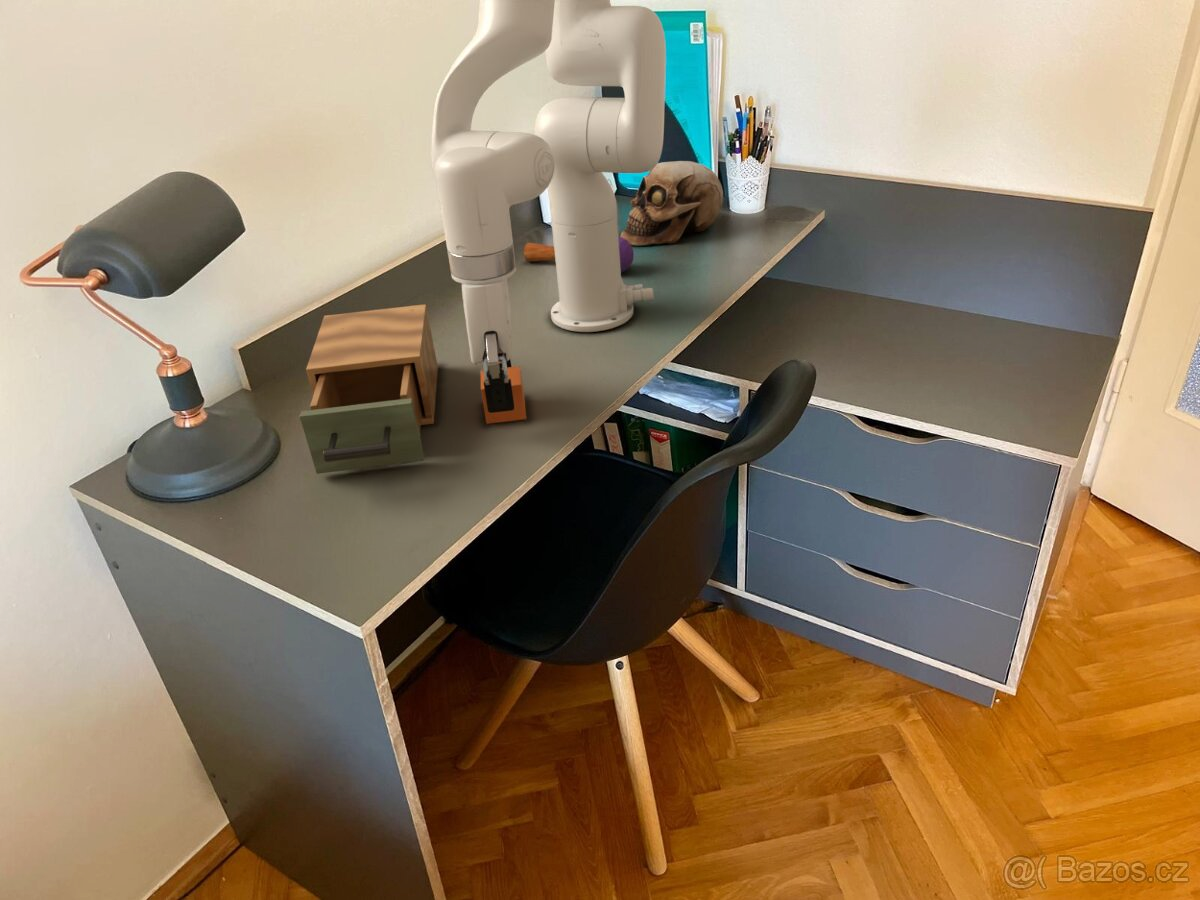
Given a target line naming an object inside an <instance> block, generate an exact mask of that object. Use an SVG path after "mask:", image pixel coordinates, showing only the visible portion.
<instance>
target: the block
mask: <svg viewBox="0 0 1200 900" xmlns="http://www.w3.org/2000/svg"><path fill="white" fill-rule="evenodd" d="M502 370H503V368H502ZM507 370H508V379H511V385H512V393H513V400H514V410H512V411H503V412H494V413H489V412H488V409H487V402H486V395H485V389H484V382H485V377H484V369H482V370H480V392H481V398H482V404H483V411H484V417H485V423H486V424H487V425H489V424H490V425H491V424H497V423H506V422H513V421H521V420H527V412H526V411H527V410H526V400H525V393H524V385H523V379H522V371H521V366H520V365H517V366H511V367H507Z"/></svg>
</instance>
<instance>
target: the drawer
mask: <svg viewBox="0 0 1200 900" xmlns="http://www.w3.org/2000/svg"><path fill="white" fill-rule="evenodd" d="M422 406H423V401H422V397H421V392H420V387H419V382H418V377H417V373H416V368H415V362H414V363H406V364H397V365H389V366H380V367H372V368H363V369H355V370H346V371H338V372H329V373H321V374H320V376H319V379H318V382H317V386H316V389H315V392H314V395H313V394H312V398H311V402H310V406H309V408H310V410H309V409H308V410H302V411H301V412H300V414H299V420H300V423H301V426H302V429H303V432H304V436H305V439H306V442H307V446H308V449H309V453H310V456H311V460H312V463H313V466H314V469H315V473H316V474H318V475H319V474H327V473H334V472H343V471H350V470H358V469H365V468H368V469H369V468H375V467H383V466H390V465H398V464H407V463H416V462H422V461H425V452H424V449H423V448H424V447H423V443H422V439H421V438H422V437H421V426H422V425H421V416H422Z"/></svg>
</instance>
